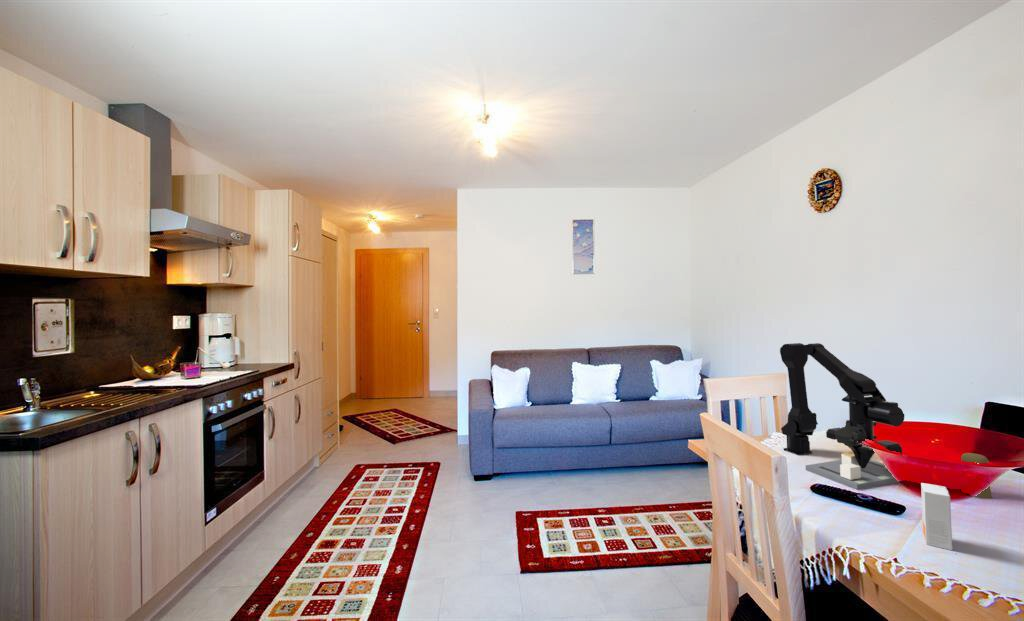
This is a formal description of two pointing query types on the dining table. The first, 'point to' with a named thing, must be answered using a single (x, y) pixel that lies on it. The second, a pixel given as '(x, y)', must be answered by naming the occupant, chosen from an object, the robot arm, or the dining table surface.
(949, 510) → the skincare box
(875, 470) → the panel
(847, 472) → the block
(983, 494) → the cork
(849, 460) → the block
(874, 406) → the robot arm
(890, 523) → the dining table surface
